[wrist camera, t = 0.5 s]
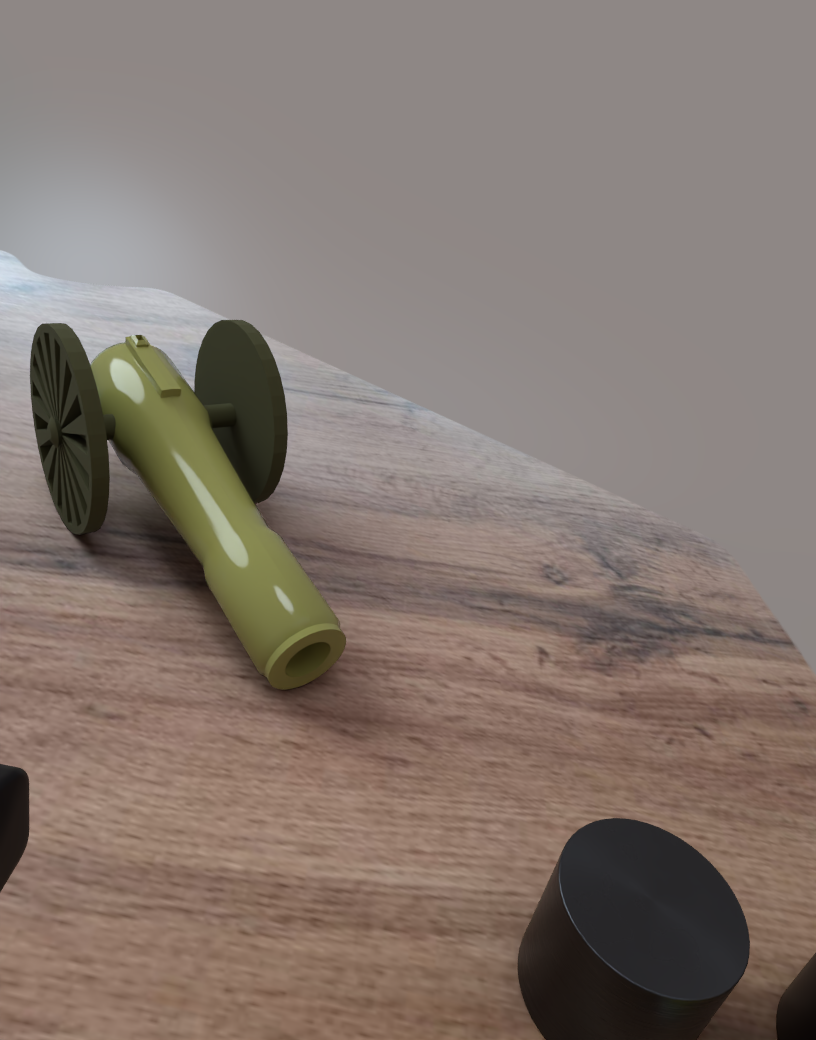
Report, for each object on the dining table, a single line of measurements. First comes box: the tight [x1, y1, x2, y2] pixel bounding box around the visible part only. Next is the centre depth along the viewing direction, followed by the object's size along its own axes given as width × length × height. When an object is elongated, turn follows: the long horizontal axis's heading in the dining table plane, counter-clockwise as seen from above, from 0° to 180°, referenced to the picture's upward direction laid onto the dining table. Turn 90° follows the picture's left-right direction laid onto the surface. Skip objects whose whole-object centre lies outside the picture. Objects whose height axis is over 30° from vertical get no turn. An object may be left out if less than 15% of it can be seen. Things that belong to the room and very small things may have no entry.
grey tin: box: [518, 818, 750, 1040], centre depth 25 cm, size 6×6×5 cm
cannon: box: [30, 320, 346, 690], centre depth 40 cm, size 25×12×11 cm, turn 37°
